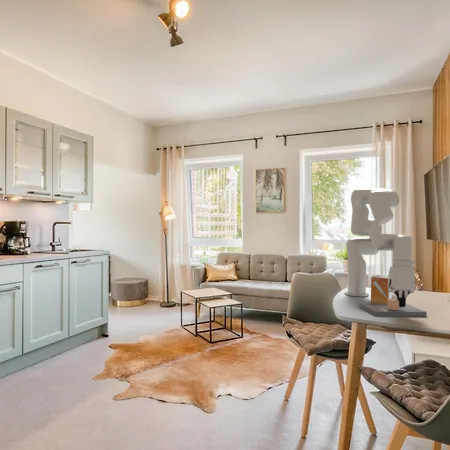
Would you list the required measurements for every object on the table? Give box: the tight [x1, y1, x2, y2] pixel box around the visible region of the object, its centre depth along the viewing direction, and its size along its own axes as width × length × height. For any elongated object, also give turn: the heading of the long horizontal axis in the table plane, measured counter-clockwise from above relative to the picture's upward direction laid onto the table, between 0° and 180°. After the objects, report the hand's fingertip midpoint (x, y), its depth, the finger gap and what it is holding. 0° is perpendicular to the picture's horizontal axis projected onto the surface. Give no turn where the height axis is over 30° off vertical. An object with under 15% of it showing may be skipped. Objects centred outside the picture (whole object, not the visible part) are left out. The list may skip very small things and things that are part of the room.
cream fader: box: [391, 293, 397, 300], centre depth 162 cm, size 4×3×4 cm
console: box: [358, 302, 428, 317], centre depth 157 cm, size 16×22×2 cm
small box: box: [370, 275, 391, 303], centre depth 176 cm, size 8×6×13 cm
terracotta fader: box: [387, 297, 399, 310], centre depth 152 cm, size 4×3×4 cm
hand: (401, 306), depth 152 cm, fingers closed
